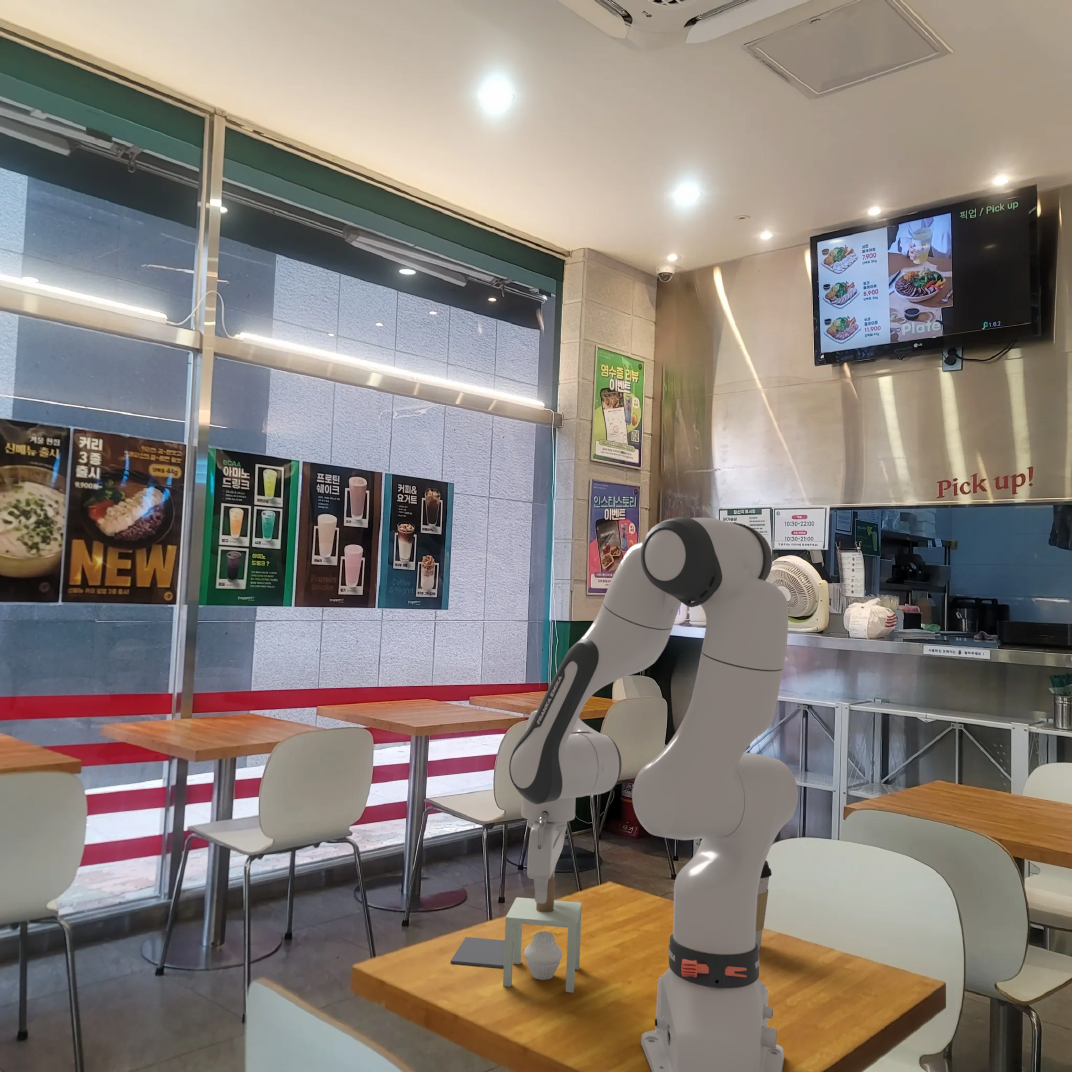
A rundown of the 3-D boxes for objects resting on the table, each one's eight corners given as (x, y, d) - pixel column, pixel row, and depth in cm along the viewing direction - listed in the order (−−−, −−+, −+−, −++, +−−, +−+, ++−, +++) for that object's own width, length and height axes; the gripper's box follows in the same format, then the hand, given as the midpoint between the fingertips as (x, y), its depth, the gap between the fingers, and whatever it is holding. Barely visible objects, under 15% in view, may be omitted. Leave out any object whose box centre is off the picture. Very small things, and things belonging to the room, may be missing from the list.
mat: (504, 968, 150) (504, 965, 150) (450, 963, 151) (450, 960, 151) (515, 943, 162) (515, 941, 162) (465, 939, 163) (465, 936, 163)
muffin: (554, 967, 151) (555, 923, 152) (567, 981, 145) (568, 935, 146) (518, 970, 149) (520, 926, 150) (530, 985, 143) (531, 938, 144)
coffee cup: (722, 933, 172) (724, 851, 173) (775, 943, 168) (776, 858, 169) (708, 948, 163) (710, 862, 165) (764, 959, 159) (765, 870, 160)
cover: (573, 992, 141) (577, 889, 143) (502, 985, 142) (507, 884, 144) (579, 966, 152) (582, 871, 153) (513, 961, 153) (517, 866, 155)
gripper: (561, 820, 139) (557, 915, 138) (573, 796, 159) (569, 878, 158) (519, 817, 140) (515, 911, 139) (537, 793, 160) (533, 875, 159)
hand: (544, 893), depth 149 cm, fingers open, 8 cm apart
